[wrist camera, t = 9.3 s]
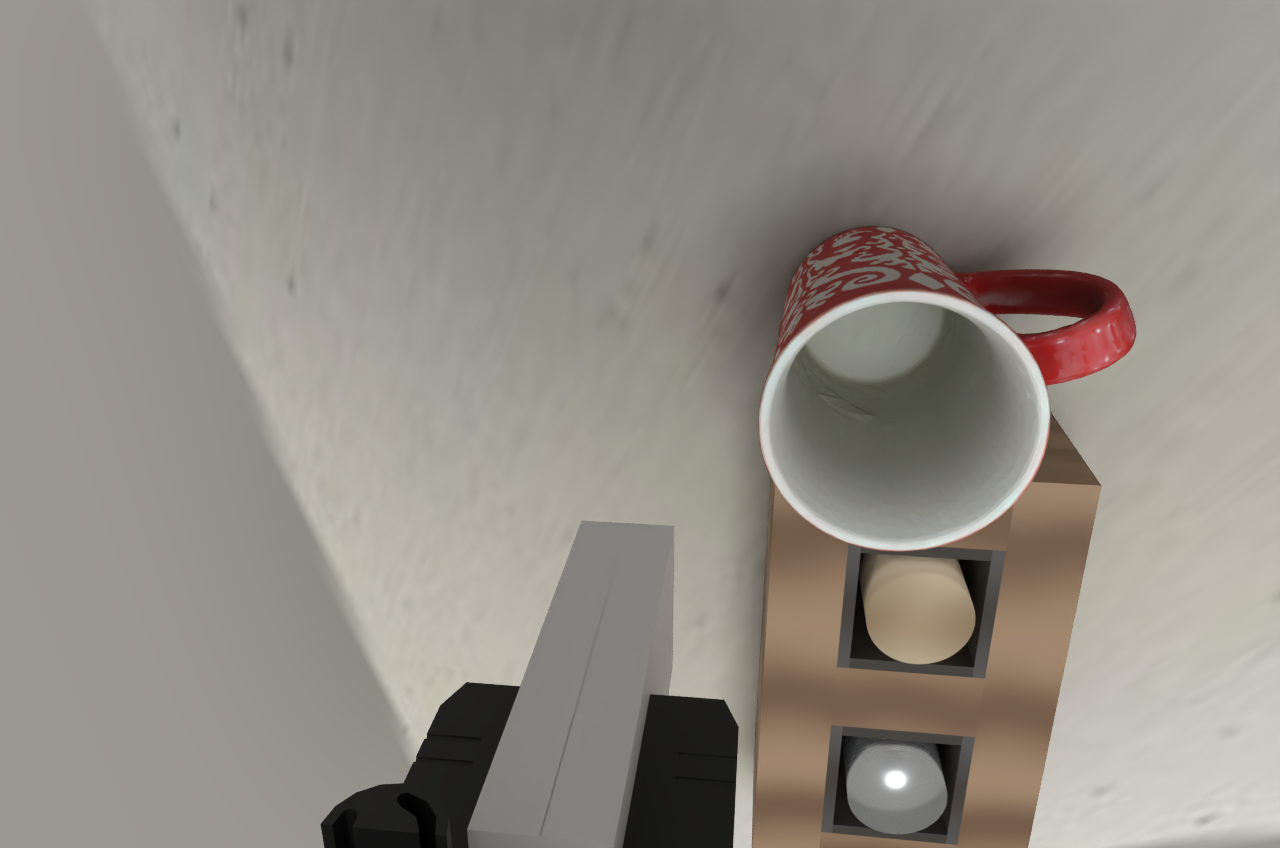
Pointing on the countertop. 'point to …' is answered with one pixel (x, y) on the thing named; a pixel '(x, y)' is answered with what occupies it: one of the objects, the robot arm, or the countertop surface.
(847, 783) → the steel peg
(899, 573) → the beech peg
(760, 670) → the socket block
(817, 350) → the mug
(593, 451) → the countertop surface
